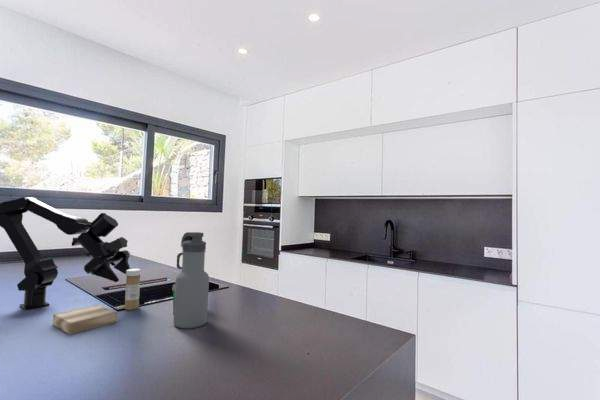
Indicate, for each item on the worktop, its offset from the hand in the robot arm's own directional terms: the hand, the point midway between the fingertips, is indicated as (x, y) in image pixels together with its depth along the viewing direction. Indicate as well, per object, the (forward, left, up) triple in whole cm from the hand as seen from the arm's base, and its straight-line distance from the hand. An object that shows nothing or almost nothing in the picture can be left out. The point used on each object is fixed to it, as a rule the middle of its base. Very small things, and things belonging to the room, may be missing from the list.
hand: (125, 278), depth 108 cm
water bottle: (+30, +5, -10) cm, 32 cm away
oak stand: (+6, -14, -10) cm, 19 cm away
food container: (+19, +13, -10) cm, 25 cm away
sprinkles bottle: (+2, +2, -10) cm, 11 cm away
